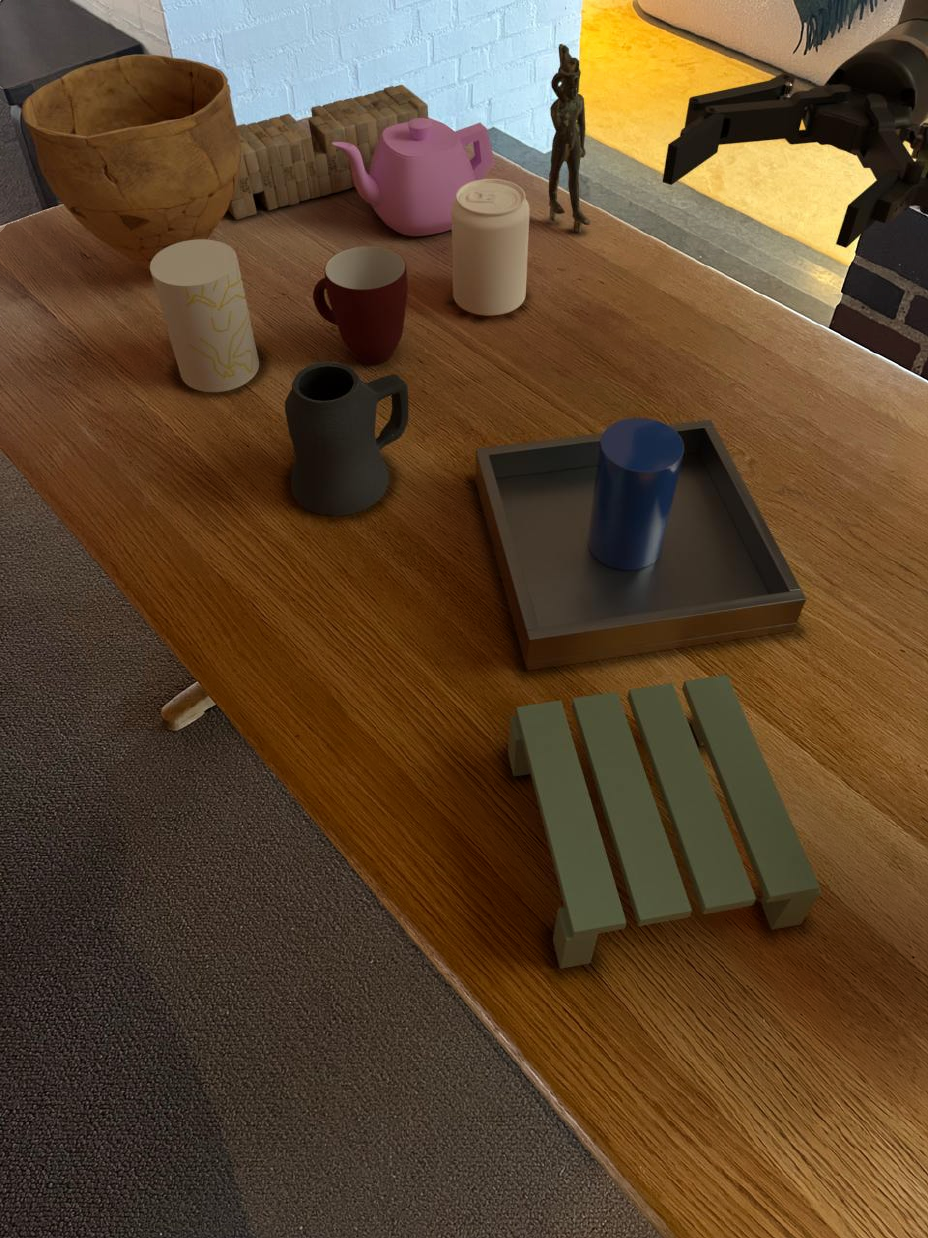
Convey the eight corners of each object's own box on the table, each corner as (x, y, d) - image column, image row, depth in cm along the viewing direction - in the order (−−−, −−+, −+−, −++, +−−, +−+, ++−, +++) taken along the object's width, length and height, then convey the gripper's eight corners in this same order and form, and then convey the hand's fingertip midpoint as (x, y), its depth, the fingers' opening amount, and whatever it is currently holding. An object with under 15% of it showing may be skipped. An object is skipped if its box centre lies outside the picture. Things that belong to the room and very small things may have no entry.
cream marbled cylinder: (213, 402, 96) (185, 296, 87) (164, 369, 100) (132, 263, 90) (275, 365, 100) (254, 259, 91) (226, 335, 103) (201, 230, 94)
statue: (570, 246, 114) (585, 66, 99) (533, 226, 117) (542, 48, 102) (597, 232, 116) (616, 53, 101) (560, 213, 119) (572, 36, 104)
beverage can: (520, 323, 104) (524, 218, 95) (447, 316, 105) (444, 211, 96) (529, 282, 109) (535, 179, 100) (460, 276, 110) (458, 173, 101)
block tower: (225, 230, 119) (433, 166, 127) (208, 163, 112) (429, 100, 120) (204, 202, 123) (407, 142, 131) (187, 136, 117) (401, 77, 125)
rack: (800, 924, 62) (826, 886, 57) (559, 969, 60) (566, 933, 56) (716, 720, 72) (733, 673, 67) (507, 753, 70) (510, 707, 66)
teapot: (325, 207, 121) (314, 115, 112) (470, 174, 126) (470, 84, 117) (361, 258, 113) (351, 164, 104) (514, 222, 118) (517, 129, 109)
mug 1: (301, 363, 100) (286, 276, 92) (333, 321, 105) (321, 235, 97) (394, 383, 98) (387, 296, 90) (423, 339, 103) (418, 253, 95)
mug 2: (321, 530, 85) (304, 430, 76) (273, 473, 90) (251, 373, 81) (434, 476, 89) (429, 376, 80) (382, 425, 94) (373, 325, 85)
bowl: (78, 330, 104) (9, 144, 89) (85, 235, 117) (26, 57, 101) (269, 307, 107) (234, 121, 91) (256, 216, 119) (224, 40, 104)
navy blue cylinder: (653, 578, 80) (674, 480, 71) (578, 559, 81) (590, 460, 72) (669, 526, 83) (691, 427, 75) (598, 509, 85) (611, 410, 76)
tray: (793, 631, 77) (806, 598, 74) (526, 671, 75) (529, 639, 72) (703, 452, 91) (711, 418, 88) (475, 481, 89) (475, 448, 86)
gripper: (1024, 185, 74) (909, 308, 63) (737, 98, 84) (598, 191, 74) (1071, 81, 68) (953, 198, 58) (757, 1, 78) (609, 87, 68)
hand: (754, 194), depth 66 cm, fingers open, 13 cm apart
